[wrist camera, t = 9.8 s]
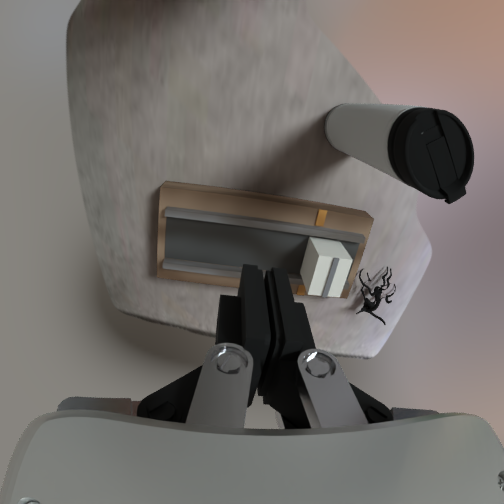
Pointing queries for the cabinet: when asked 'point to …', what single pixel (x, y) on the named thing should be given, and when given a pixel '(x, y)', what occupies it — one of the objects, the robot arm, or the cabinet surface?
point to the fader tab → (325, 267)
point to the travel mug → (406, 145)
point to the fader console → (248, 234)
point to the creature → (377, 292)
